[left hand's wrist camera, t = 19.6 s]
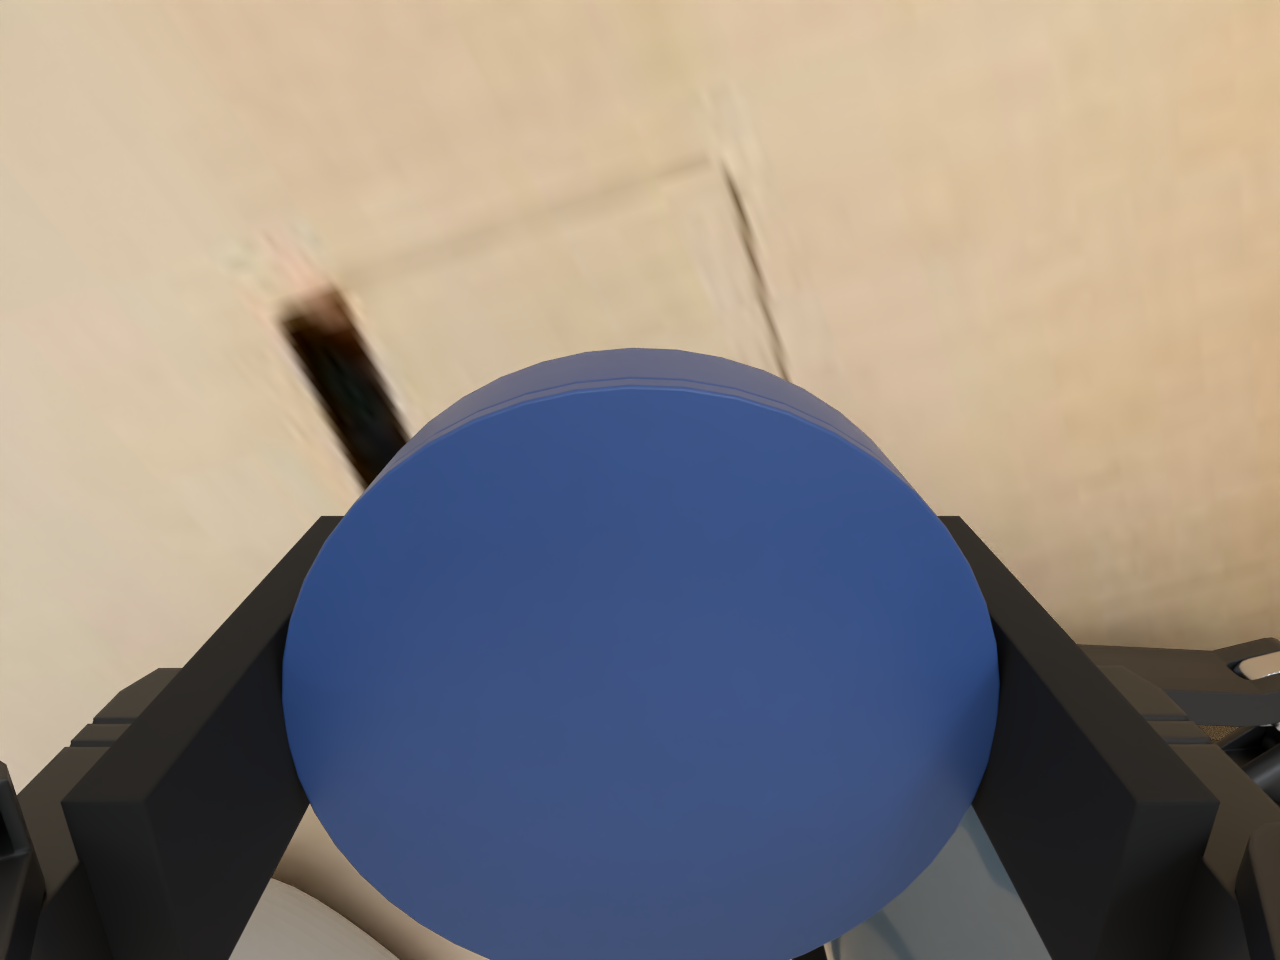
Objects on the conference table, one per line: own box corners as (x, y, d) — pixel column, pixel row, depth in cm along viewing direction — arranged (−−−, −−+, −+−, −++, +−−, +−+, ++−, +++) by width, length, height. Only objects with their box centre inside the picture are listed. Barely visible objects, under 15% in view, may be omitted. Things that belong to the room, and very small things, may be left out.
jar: (736, 741, 34) (845, 1340, 17) (894, 624, 32) (1202, 1165, 15) (856, 850, 37) (1062, 1481, 19) (1010, 747, 35) (1397, 1344, 17)
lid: (952, 843, 14) (1002, 950, 12) (421, 906, 14) (388, 1020, 12) (935, 296, 10) (1000, 324, 9) (253, 403, 11) (172, 451, 9)
